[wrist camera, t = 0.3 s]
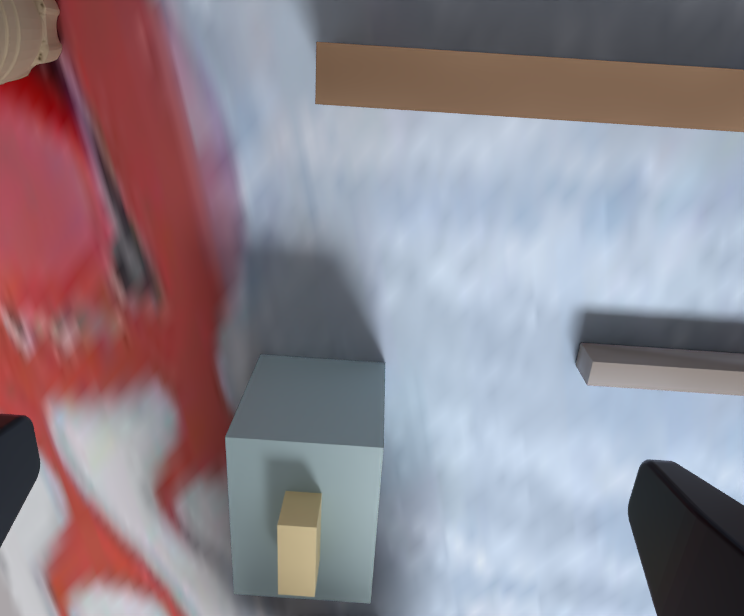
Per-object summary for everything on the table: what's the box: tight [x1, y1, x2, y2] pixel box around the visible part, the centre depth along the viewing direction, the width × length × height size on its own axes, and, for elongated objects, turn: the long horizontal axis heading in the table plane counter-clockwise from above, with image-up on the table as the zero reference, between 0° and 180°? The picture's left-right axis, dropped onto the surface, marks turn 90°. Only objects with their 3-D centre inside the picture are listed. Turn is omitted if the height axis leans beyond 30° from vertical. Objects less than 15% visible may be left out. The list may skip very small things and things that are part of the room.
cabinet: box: [225, 354, 385, 604], centre depth 22 cm, size 7×5×7 cm
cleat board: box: [315, 42, 744, 396], centre depth 19 cm, size 11×19×4 cm, turn 87°
